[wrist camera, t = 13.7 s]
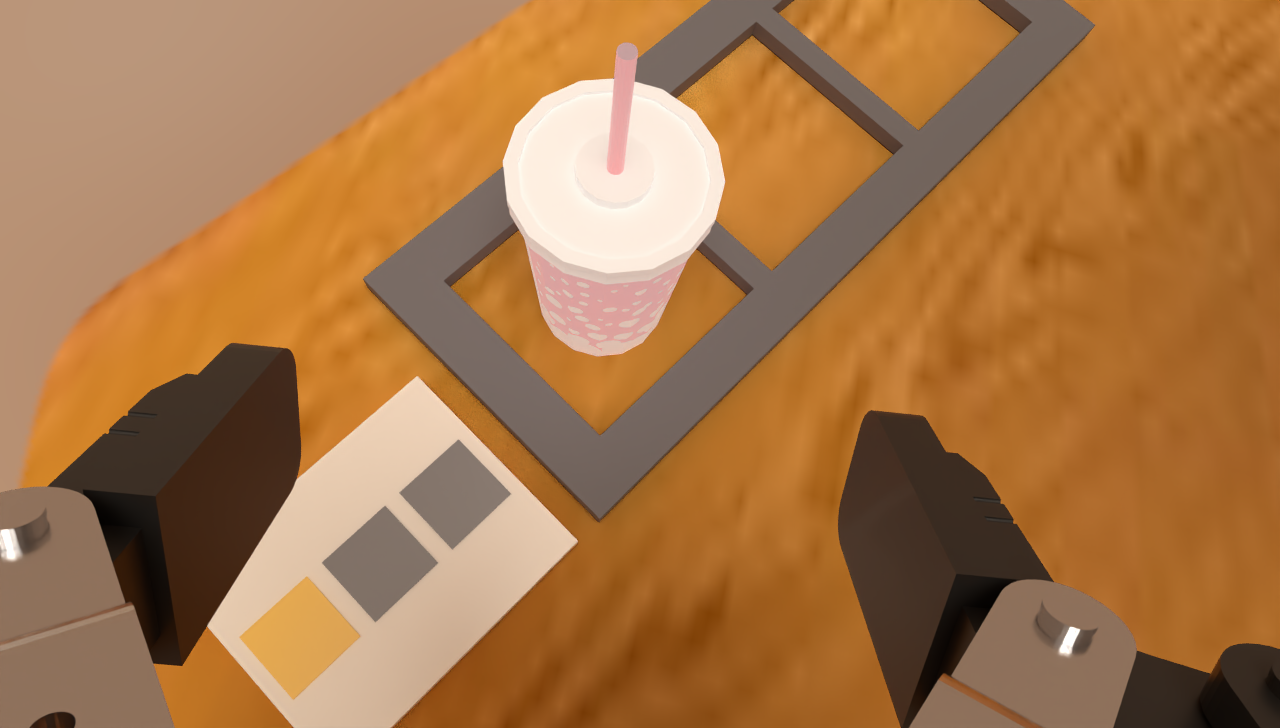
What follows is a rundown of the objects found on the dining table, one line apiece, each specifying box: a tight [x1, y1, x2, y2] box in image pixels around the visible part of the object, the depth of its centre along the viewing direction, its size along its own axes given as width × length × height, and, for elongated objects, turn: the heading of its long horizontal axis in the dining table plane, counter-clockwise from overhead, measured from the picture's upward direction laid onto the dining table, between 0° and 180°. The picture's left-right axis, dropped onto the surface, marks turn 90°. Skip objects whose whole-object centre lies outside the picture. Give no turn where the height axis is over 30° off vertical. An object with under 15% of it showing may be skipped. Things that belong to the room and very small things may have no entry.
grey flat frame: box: [363, 0, 1095, 522], centre depth 34 cm, size 30×12×1 cm, turn 135°
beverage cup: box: [503, 43, 725, 356], centre depth 26 cm, size 6×6×14 cm
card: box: [207, 376, 578, 728], centre depth 28 cm, size 10×8×1 cm
